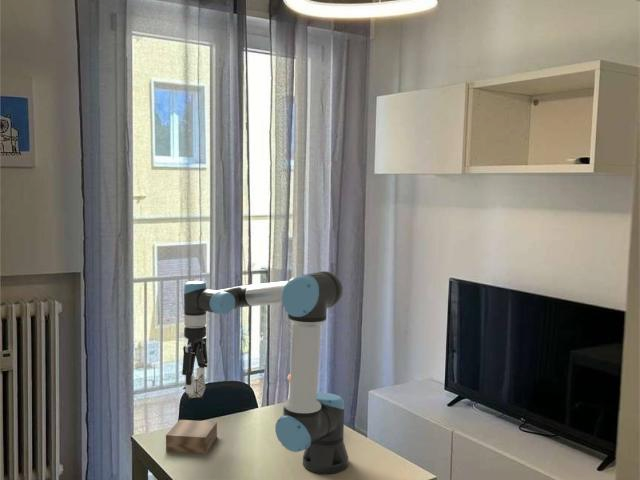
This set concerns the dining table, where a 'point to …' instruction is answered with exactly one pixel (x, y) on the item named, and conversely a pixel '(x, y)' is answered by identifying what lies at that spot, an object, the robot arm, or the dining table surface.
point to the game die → (198, 388)
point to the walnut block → (191, 436)
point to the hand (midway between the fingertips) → (195, 389)
